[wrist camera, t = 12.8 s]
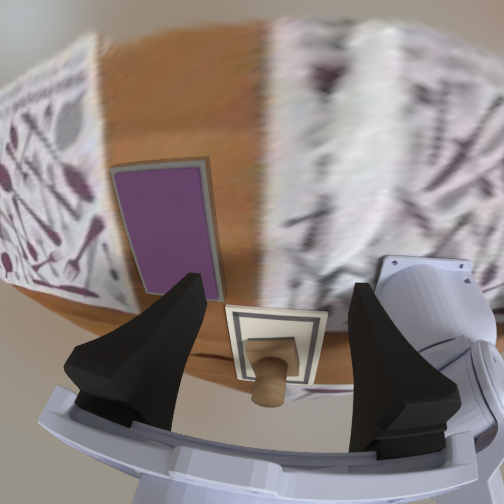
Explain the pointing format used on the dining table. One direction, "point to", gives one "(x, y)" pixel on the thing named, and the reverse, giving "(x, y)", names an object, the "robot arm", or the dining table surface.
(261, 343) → the stamp
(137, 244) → the ink pad
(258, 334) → the marked card
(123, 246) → the dining table surface
